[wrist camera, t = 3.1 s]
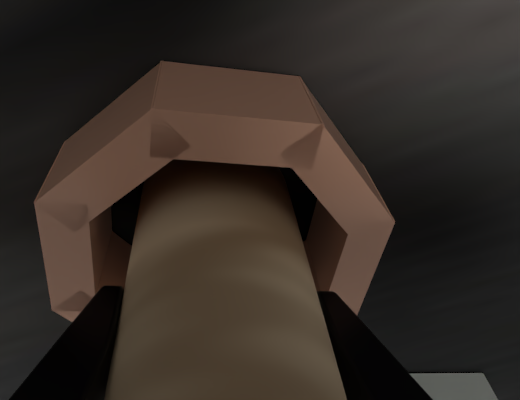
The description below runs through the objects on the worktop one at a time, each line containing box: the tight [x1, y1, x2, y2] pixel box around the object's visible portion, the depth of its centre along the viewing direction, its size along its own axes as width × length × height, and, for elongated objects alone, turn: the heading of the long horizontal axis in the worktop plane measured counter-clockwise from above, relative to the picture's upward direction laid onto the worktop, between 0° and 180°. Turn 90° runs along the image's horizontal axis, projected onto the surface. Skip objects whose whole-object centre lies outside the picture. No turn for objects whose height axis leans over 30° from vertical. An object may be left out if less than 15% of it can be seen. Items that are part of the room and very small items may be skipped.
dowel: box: [104, 159, 347, 400], centre depth 10 cm, size 4×4×7 cm
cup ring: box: [34, 60, 395, 322], centre depth 11 cm, size 8×8×2 cm
